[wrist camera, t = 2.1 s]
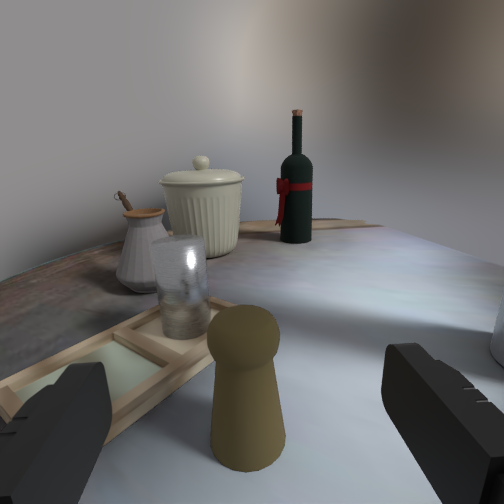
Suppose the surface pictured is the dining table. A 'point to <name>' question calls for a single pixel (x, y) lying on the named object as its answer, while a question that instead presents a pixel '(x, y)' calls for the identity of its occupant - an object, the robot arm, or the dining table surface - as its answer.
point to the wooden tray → (121, 367)
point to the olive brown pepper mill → (245, 388)
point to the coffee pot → (139, 247)
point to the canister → (205, 205)
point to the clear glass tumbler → (182, 285)
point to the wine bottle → (295, 190)
